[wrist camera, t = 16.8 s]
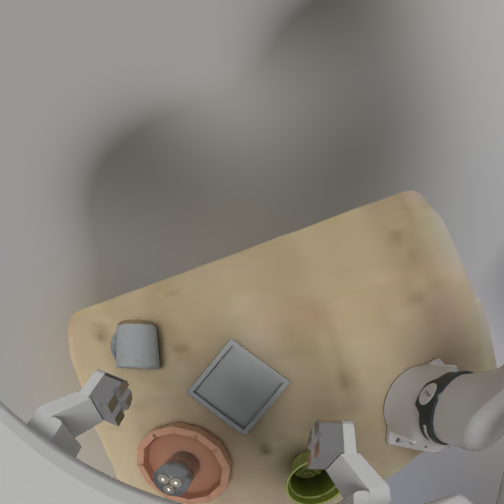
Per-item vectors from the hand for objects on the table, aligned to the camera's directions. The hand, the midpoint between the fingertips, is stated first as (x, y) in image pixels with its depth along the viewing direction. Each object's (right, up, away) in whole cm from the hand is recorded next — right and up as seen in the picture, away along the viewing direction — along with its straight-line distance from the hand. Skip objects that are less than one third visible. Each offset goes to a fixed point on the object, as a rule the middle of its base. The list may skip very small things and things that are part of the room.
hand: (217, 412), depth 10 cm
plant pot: (+11, -30, +26) cm, 41 cm away
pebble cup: (-10, -30, +25) cm, 41 cm away
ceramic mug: (-19, -11, +35) cm, 41 cm away
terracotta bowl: (-10, -30, +26) cm, 41 cm away
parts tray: (-1, -16, +32) cm, 36 cm away
